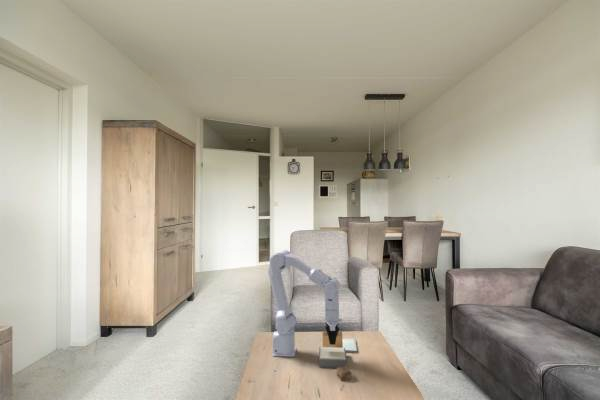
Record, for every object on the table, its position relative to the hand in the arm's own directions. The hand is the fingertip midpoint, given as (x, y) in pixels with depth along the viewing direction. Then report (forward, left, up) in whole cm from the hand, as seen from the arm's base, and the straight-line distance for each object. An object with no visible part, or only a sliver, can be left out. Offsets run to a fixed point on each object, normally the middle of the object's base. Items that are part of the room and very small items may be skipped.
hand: (332, 341), depth 124 cm
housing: (0, 0, -1) cm, 1 cm away
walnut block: (+4, -12, -8) cm, 15 cm away
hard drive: (+7, +14, -9) cm, 18 cm away
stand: (0, 0, -8) cm, 8 cm away
